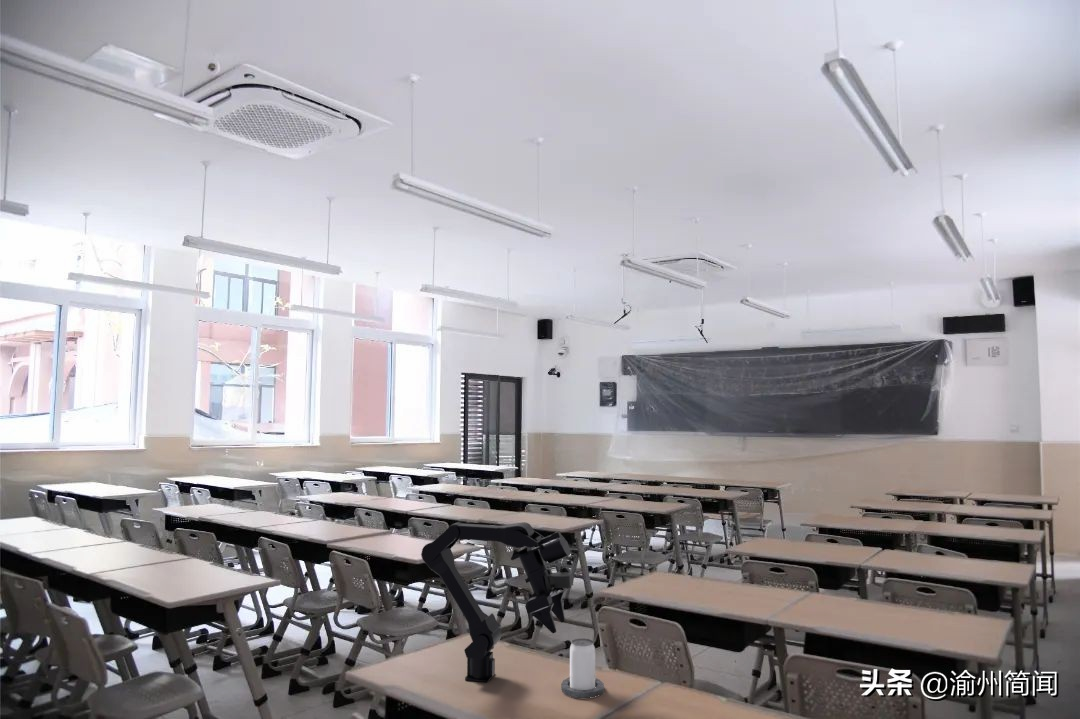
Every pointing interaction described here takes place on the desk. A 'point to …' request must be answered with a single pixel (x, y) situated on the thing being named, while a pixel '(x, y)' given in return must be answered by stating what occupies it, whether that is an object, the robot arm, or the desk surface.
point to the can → (582, 664)
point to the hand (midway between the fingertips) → (559, 627)
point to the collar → (582, 693)
